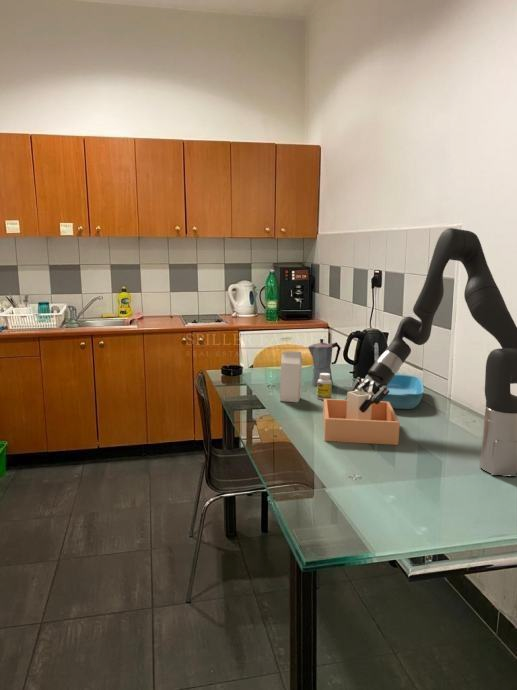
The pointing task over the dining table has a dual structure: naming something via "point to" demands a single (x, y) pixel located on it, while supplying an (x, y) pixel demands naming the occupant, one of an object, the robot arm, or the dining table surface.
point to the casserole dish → (404, 391)
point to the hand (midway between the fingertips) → (354, 408)
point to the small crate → (357, 405)
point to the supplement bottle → (324, 386)
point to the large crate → (360, 424)
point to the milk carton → (290, 376)
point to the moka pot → (322, 359)
